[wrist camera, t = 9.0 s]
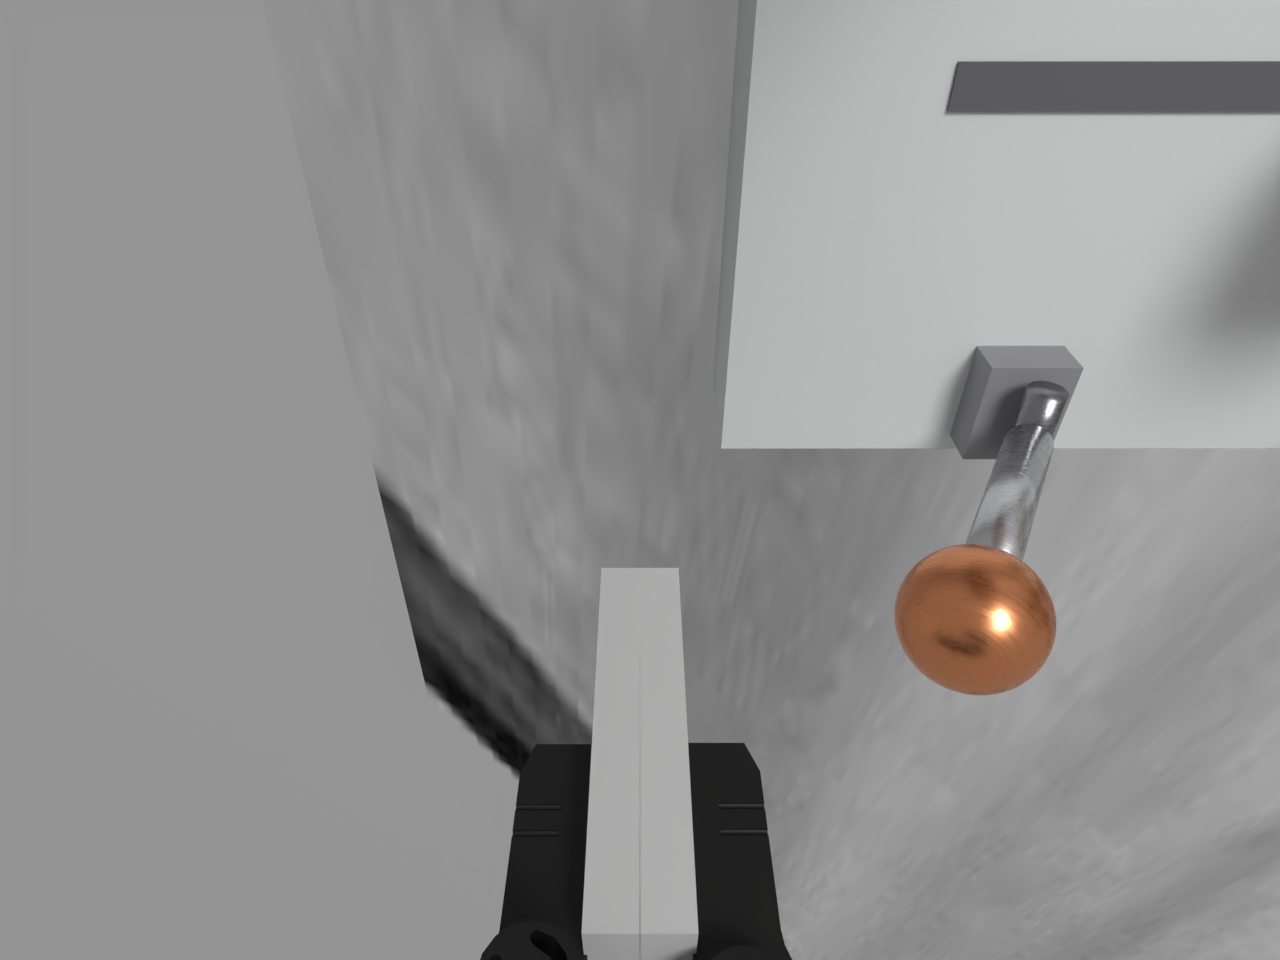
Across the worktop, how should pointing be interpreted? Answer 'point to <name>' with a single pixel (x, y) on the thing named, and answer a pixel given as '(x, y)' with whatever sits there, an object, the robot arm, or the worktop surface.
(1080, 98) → the panel
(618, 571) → the robot arm
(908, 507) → the worktop surface
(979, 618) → the toggle orange
